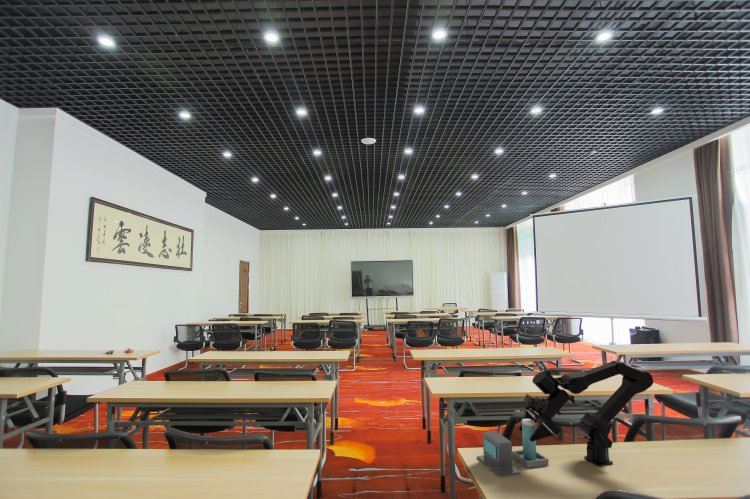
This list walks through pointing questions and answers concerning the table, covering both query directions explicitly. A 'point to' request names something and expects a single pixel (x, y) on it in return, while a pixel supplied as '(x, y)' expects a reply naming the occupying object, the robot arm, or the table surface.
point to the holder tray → (530, 464)
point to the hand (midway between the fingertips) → (524, 435)
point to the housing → (498, 454)
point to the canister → (528, 440)
